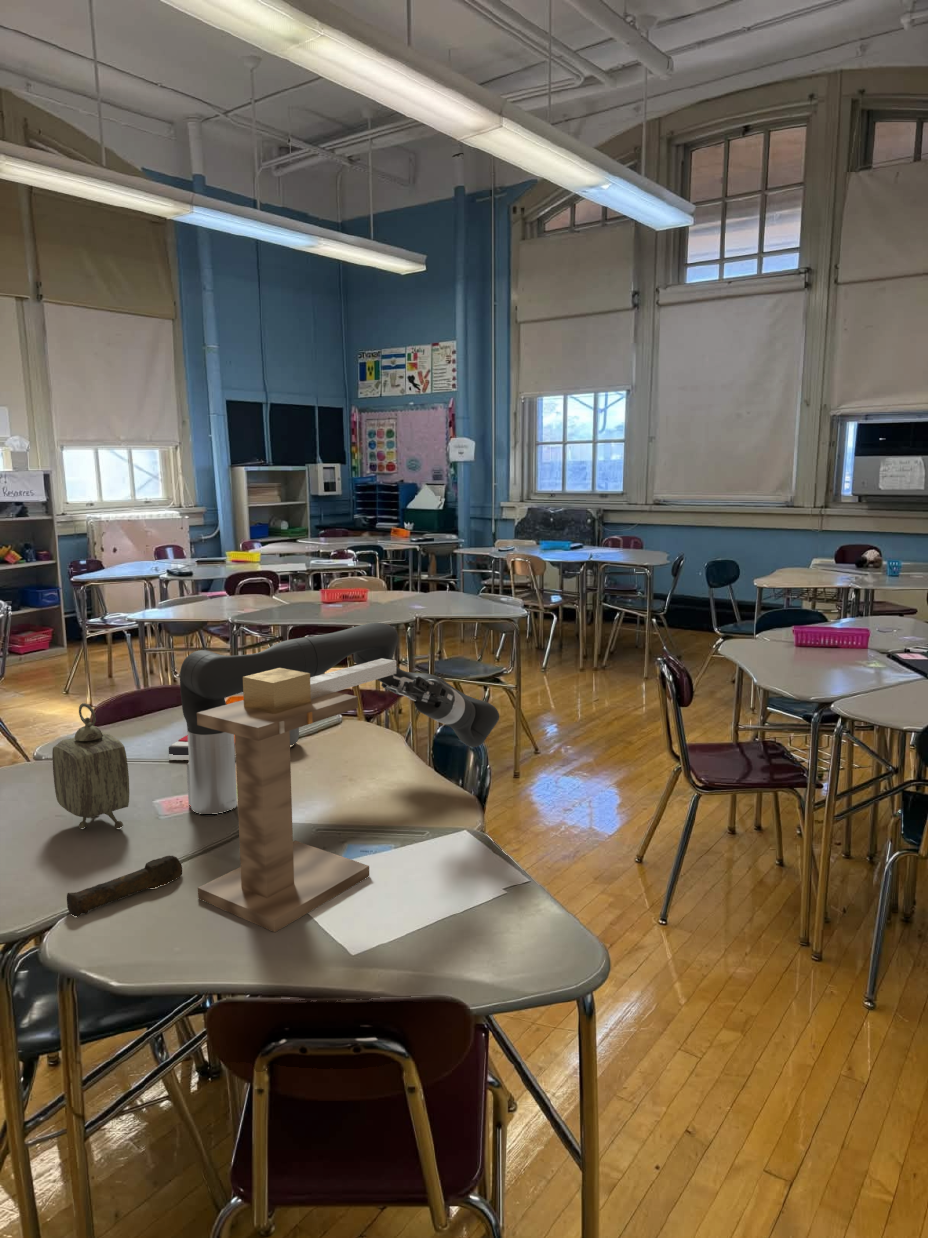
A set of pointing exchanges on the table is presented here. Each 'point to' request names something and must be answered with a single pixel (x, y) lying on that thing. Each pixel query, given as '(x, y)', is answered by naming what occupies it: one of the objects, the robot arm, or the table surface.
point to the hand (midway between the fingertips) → (397, 677)
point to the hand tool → (125, 885)
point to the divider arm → (306, 685)
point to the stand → (274, 820)
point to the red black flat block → (180, 747)
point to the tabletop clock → (91, 772)
